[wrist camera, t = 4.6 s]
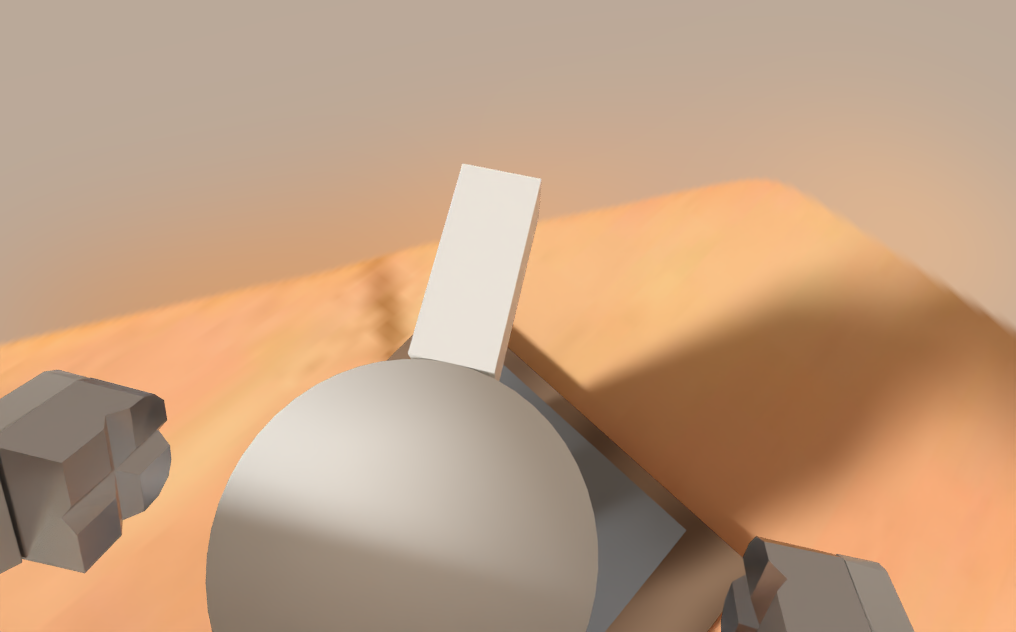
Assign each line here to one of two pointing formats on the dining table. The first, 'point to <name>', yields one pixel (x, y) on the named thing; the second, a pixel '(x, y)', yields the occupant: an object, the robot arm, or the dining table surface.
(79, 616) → the dining table surface
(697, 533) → the base plate
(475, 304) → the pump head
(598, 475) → the grey upright block
